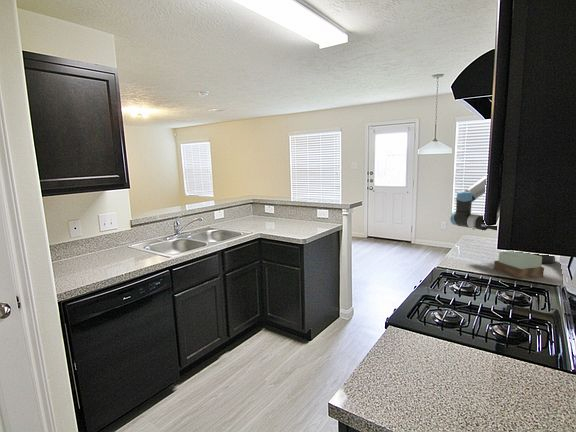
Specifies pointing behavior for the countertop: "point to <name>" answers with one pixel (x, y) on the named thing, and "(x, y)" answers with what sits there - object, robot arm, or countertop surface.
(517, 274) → the tower base
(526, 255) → the tower top
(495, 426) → the countertop surface
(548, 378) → the countertop surface
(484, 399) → the countertop surface
